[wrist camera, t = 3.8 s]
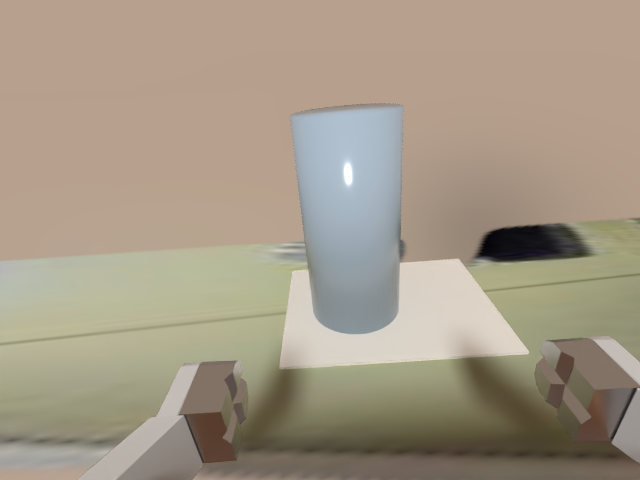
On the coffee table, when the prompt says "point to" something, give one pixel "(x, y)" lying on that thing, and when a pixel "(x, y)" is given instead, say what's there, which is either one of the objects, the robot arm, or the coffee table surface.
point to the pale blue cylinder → (351, 211)
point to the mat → (404, 323)
